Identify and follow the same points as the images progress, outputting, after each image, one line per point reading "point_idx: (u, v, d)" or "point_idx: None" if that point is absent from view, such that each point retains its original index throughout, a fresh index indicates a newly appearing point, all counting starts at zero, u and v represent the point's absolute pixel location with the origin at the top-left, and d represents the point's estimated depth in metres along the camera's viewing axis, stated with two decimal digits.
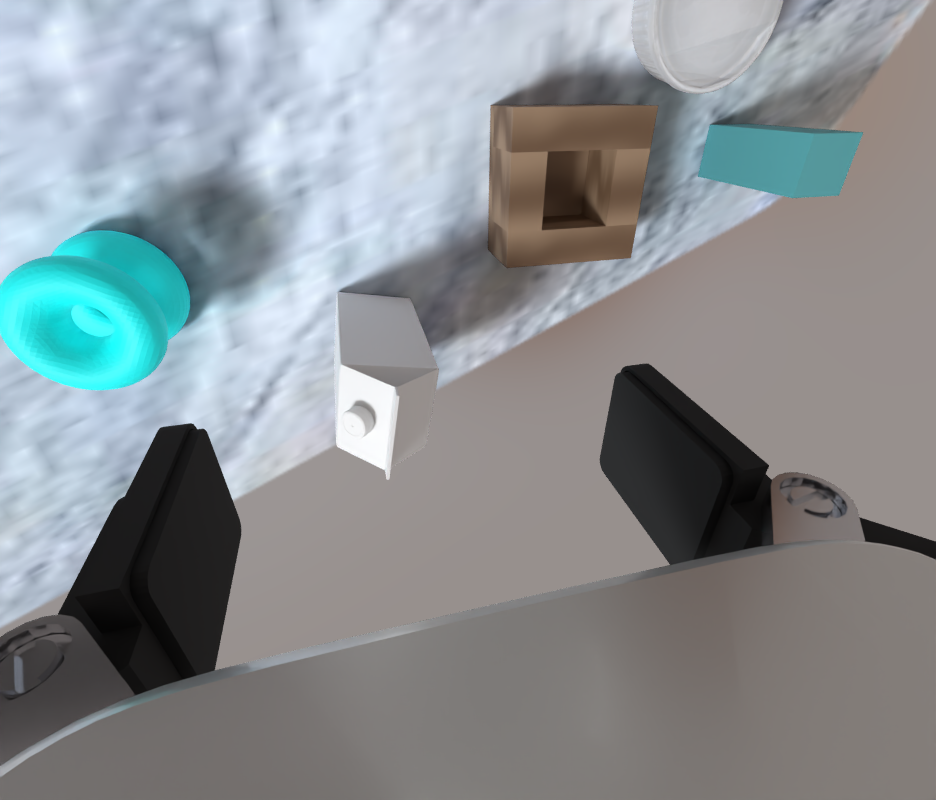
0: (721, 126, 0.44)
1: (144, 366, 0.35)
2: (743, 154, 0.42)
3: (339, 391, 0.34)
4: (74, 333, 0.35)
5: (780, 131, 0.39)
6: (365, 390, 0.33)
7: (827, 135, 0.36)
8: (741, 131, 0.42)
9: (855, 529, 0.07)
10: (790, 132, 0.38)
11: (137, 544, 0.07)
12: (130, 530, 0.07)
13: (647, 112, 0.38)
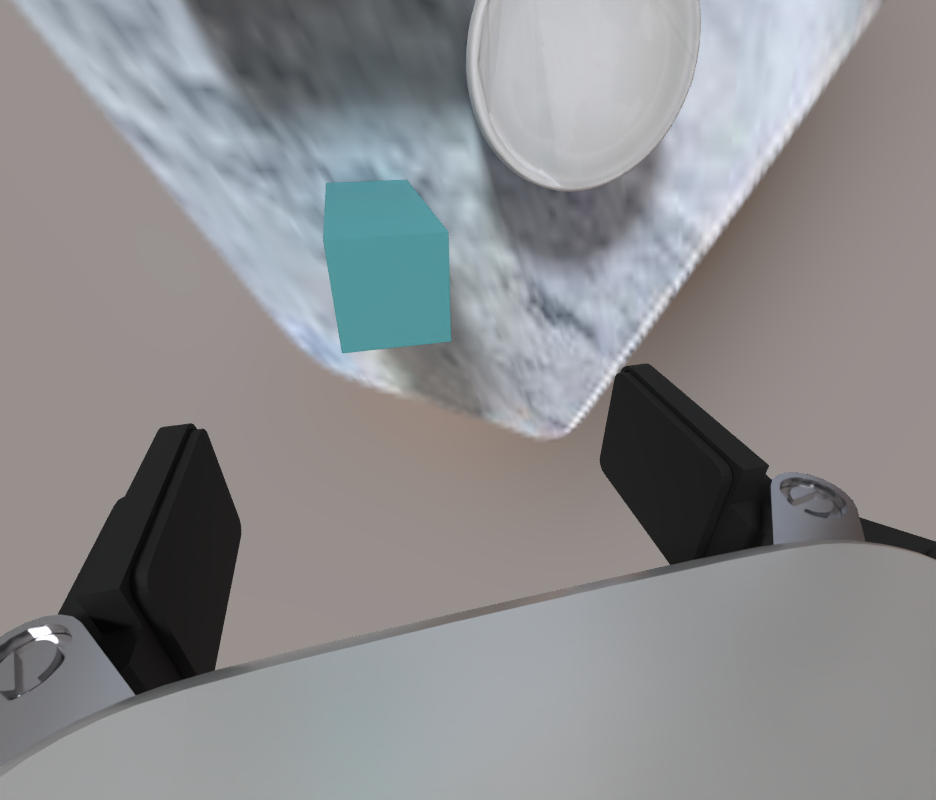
0: (409, 185, 0.26)
1: None
2: (379, 199, 0.23)
3: None
4: None
5: None
6: None
7: (446, 265, 0.18)
8: (411, 194, 0.24)
9: (855, 529, 0.07)
10: (435, 219, 0.20)
11: (137, 544, 0.07)
12: (130, 530, 0.07)
13: None
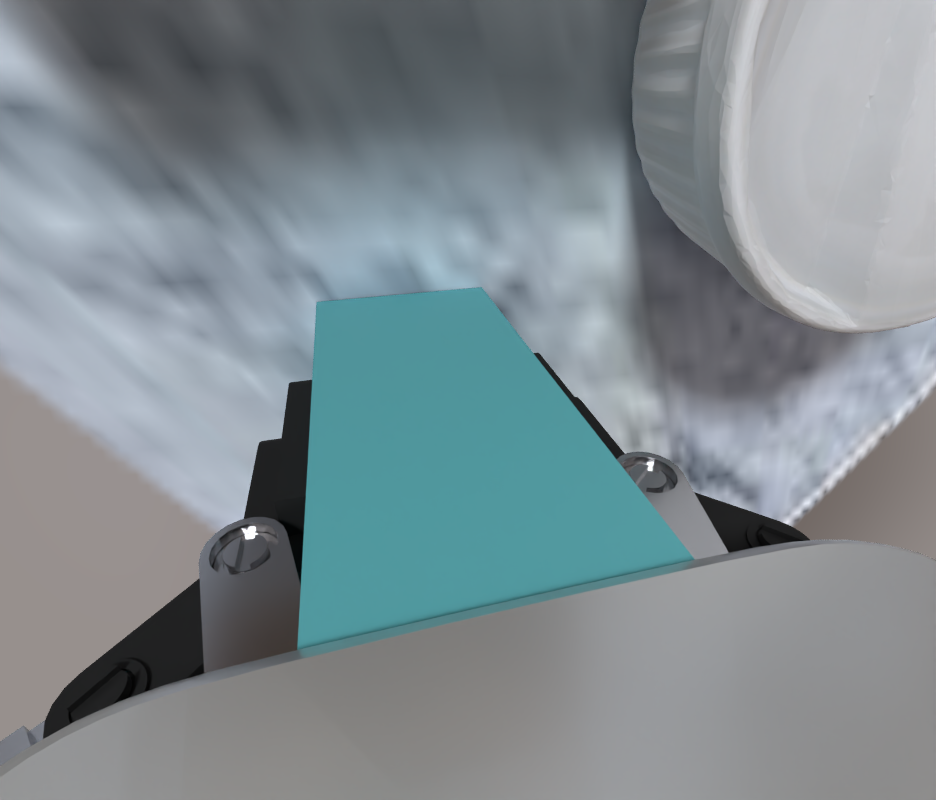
0: None
1: None
2: (453, 393, 0.09)
3: None
4: None
5: (645, 505, 0.06)
6: None
7: None
8: (522, 360, 0.10)
9: (689, 494, 0.08)
10: None
11: None
12: (298, 456, 0.08)
13: None
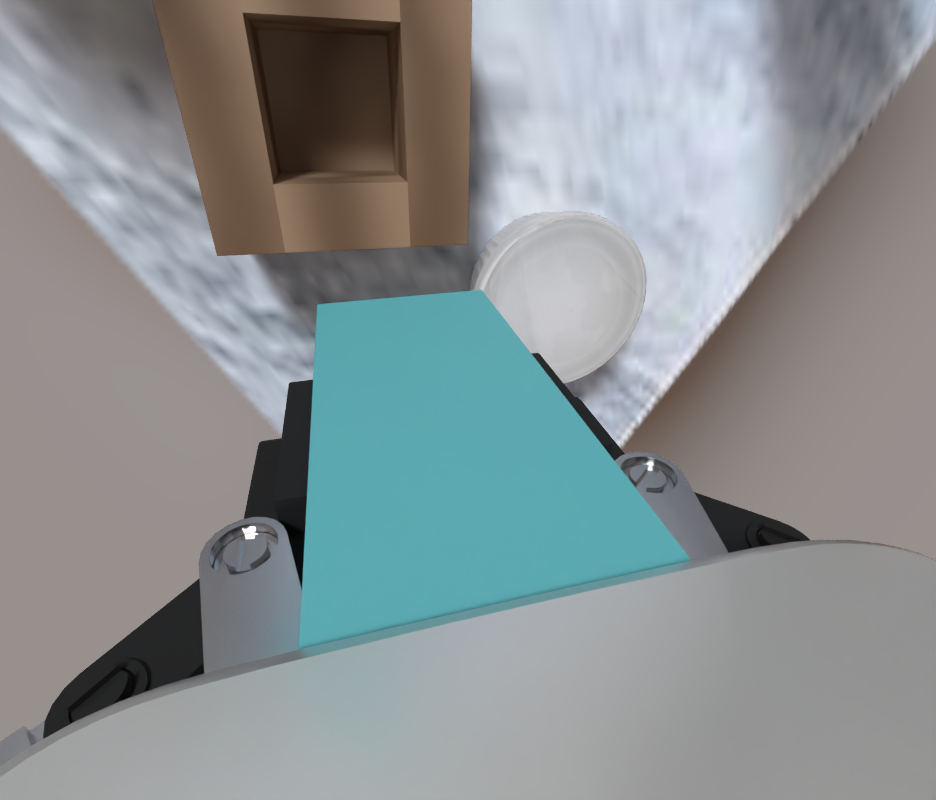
0: (495, 312, 0.12)
1: None
2: (453, 397, 0.09)
3: None
4: None
5: (645, 509, 0.06)
6: None
7: None
8: (522, 363, 0.10)
9: (690, 494, 0.08)
10: None
11: (308, 466, 0.08)
12: (298, 456, 0.08)
13: (459, 227, 0.24)
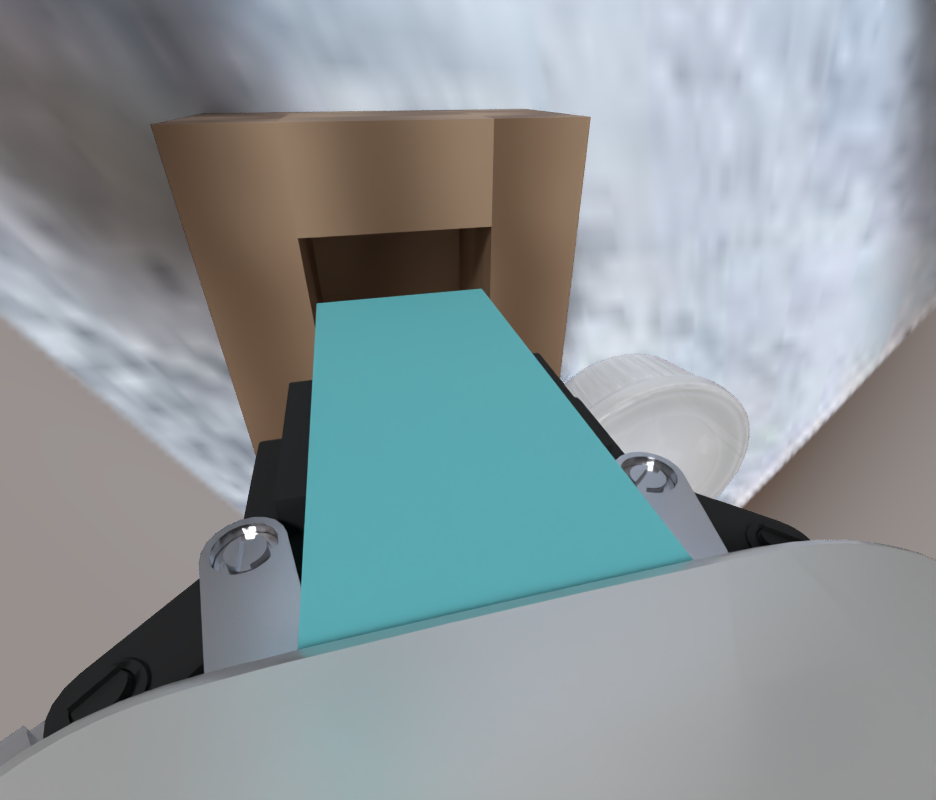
0: (495, 311, 0.12)
1: None
2: (453, 396, 0.09)
3: None
4: None
5: (646, 508, 0.06)
6: None
7: None
8: (522, 362, 0.10)
9: (689, 494, 0.08)
10: None
11: None
12: (298, 456, 0.08)
13: None
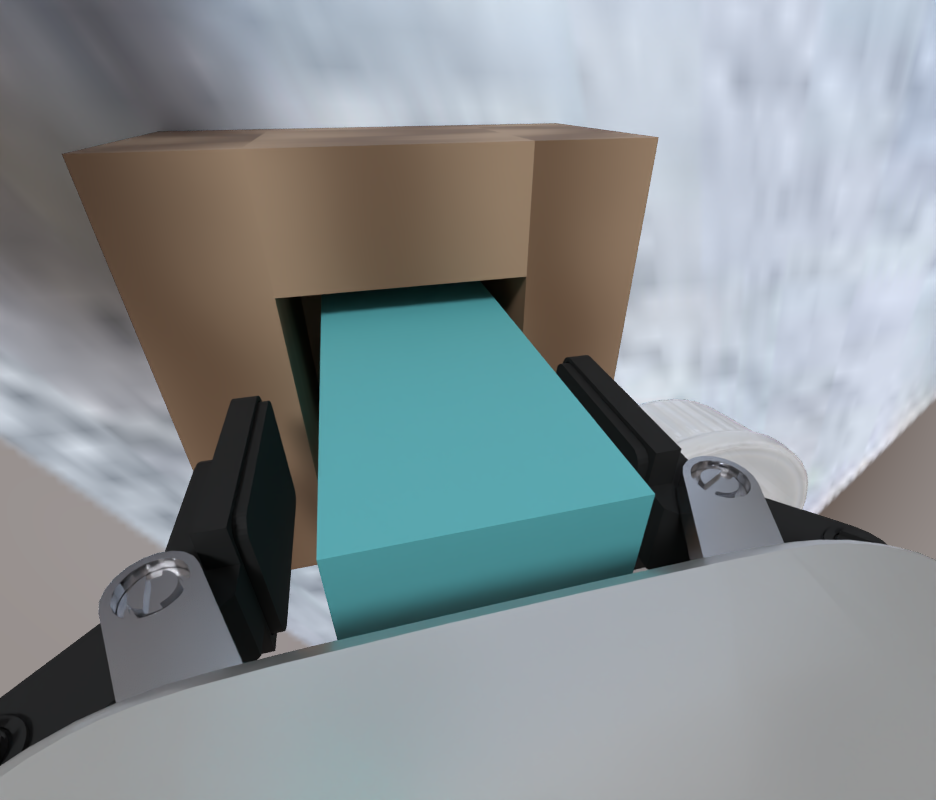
0: None
1: None
2: (427, 320, 0.12)
3: None
4: None
5: (555, 379, 0.09)
6: None
7: (631, 555, 0.07)
8: (483, 300, 0.13)
9: (761, 504, 0.08)
10: (578, 407, 0.08)
11: (234, 493, 0.08)
12: (225, 482, 0.08)
13: None
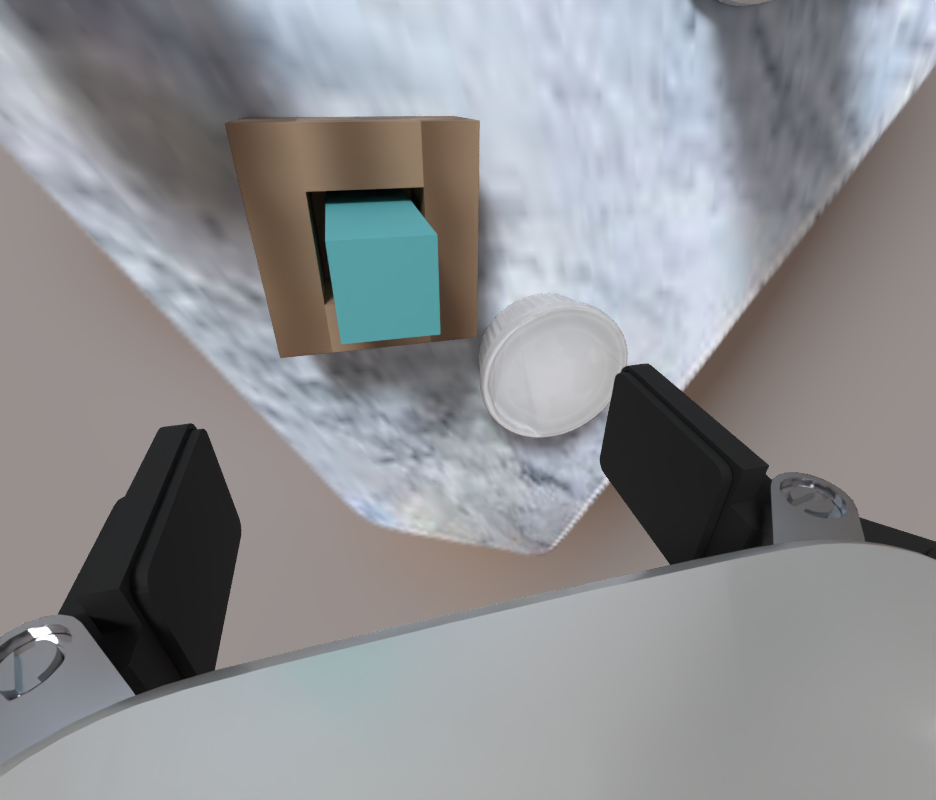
0: (403, 193, 0.28)
1: None
2: (375, 205, 0.25)
3: None
4: None
5: (423, 218, 0.23)
6: None
7: (435, 264, 0.20)
8: (405, 201, 0.26)
9: (855, 529, 0.07)
10: (426, 223, 0.22)
11: (137, 544, 0.07)
12: (130, 530, 0.07)
13: (470, 325, 0.30)
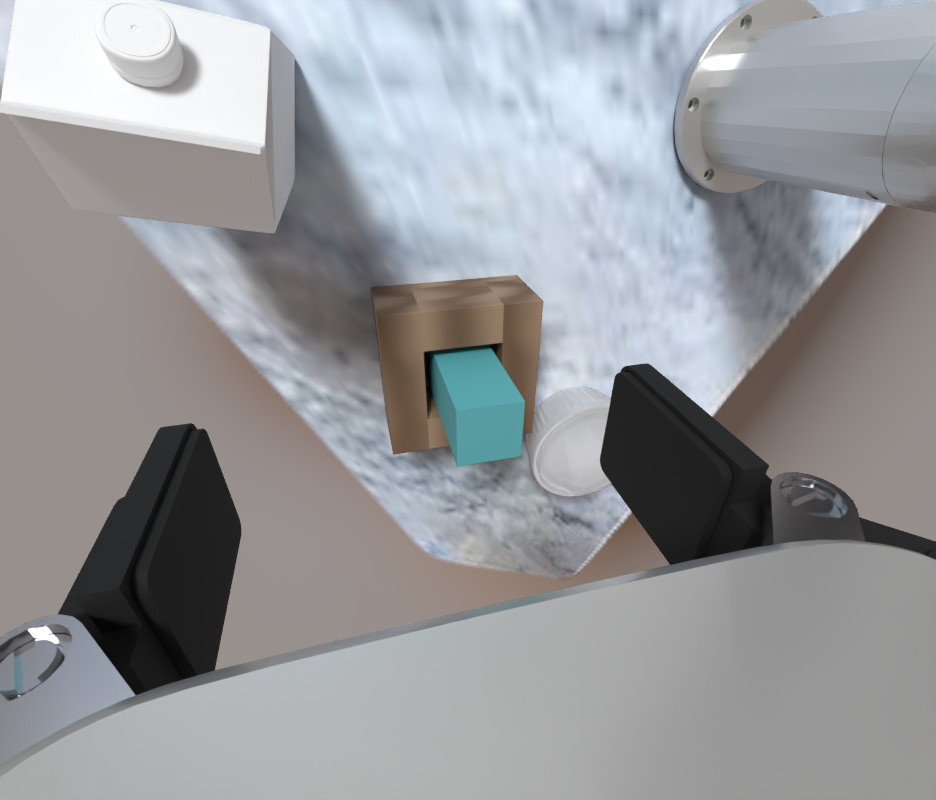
0: None
1: None
2: (469, 357, 0.36)
3: (199, 12, 0.16)
4: None
5: (508, 376, 0.33)
6: (229, 76, 0.16)
7: (522, 417, 0.31)
8: (487, 349, 0.37)
9: (855, 529, 0.07)
10: (512, 384, 0.32)
11: (138, 544, 0.07)
12: (131, 530, 0.07)
13: (527, 425, 0.41)
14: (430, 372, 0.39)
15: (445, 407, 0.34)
